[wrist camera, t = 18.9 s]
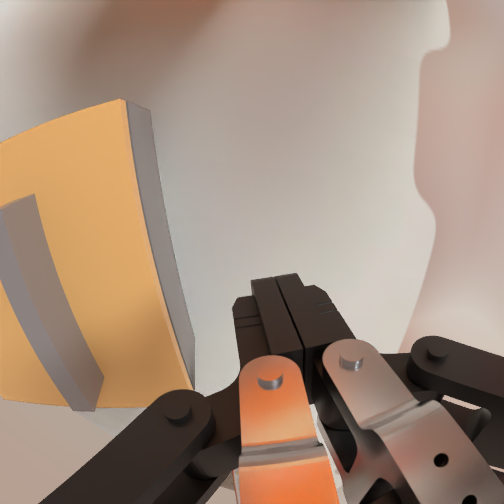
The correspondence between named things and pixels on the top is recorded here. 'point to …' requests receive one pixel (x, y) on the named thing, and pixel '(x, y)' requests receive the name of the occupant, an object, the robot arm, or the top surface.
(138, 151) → the box
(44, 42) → the top surface
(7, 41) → the top surface
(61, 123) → the lid
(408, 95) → the top surface
